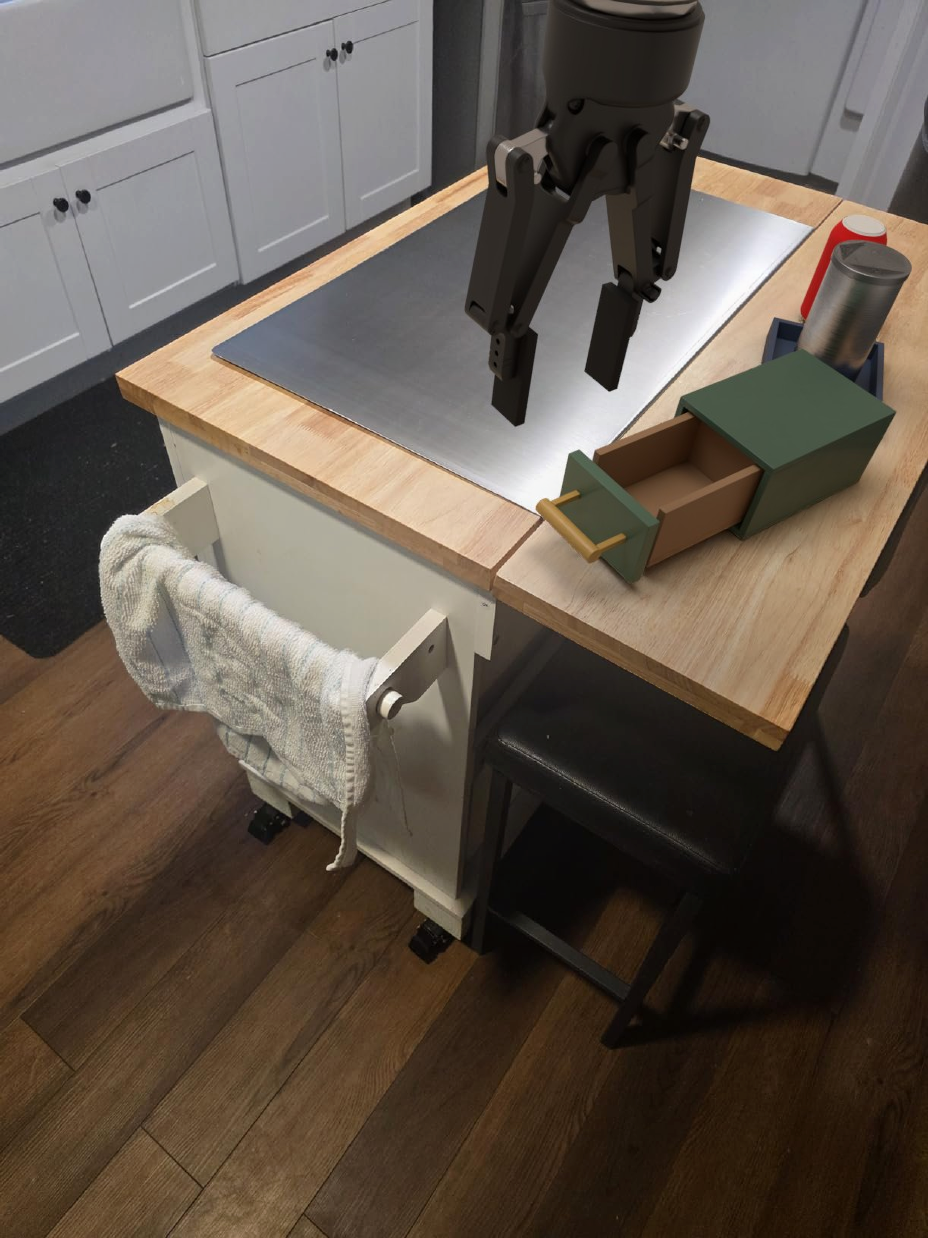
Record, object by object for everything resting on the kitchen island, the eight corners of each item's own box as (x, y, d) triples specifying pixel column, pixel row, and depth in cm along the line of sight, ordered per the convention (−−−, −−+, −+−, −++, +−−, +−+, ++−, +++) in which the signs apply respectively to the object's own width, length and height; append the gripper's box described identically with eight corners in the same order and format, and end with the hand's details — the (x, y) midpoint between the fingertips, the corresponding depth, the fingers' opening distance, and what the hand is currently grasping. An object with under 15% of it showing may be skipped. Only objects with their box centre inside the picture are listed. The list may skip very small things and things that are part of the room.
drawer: (591, 604, 71) (608, 546, 66) (518, 528, 77) (528, 469, 71) (757, 521, 79) (782, 464, 74) (680, 458, 84) (699, 400, 79)
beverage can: (853, 319, 105) (898, 220, 96) (842, 342, 102) (887, 243, 93) (803, 303, 107) (843, 205, 98) (791, 326, 103) (830, 226, 94)
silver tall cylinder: (866, 389, 95) (928, 267, 84) (821, 409, 92) (879, 285, 81) (814, 354, 99) (866, 233, 88) (768, 372, 96) (817, 249, 85)
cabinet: (741, 540, 79) (774, 469, 72) (657, 468, 85) (680, 396, 78) (858, 481, 85) (897, 411, 79) (773, 418, 91) (802, 347, 85)
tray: (871, 441, 90) (882, 420, 88) (751, 410, 92) (759, 390, 90) (874, 362, 100) (884, 342, 98) (766, 336, 101) (774, 316, 100)
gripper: (724, -49, 47) (631, 330, 65) (405, -13, 39) (397, 410, 56) (830, -7, 43) (701, 383, 61) (503, 42, 35) (462, 477, 53)
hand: (555, 396), depth 59 cm, fingers open, 7 cm apart
